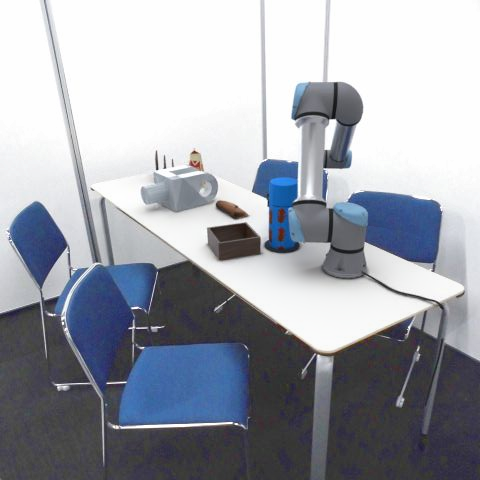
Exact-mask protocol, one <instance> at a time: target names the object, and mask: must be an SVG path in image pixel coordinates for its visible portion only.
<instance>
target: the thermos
mask: <svg viewBox="0 0 480 480" xmlns="http://www.w3.org/2000/svg"><path fill="white" fill-rule="evenodd" d="M297 184H298V180H297V179H296V178H293V177H287V176H285V177H282V176H281V177H275V178H272V179H271V180H270V181H269V186H268V193H269V207H268V240H269V245H270V247H272V248H275V249H280V250H285V249H290V248H293V247H294V246H295V242H294V241H293V240H292V239H291V237H290V229H289V217H288V208H290V207H292V203H293V201H294V200H295V199H297Z"/></svg>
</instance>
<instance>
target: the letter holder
mask: <svg viewBox="0 0 480 480" xmlns="http://www.w3.org/2000/svg"><path fill="white" fill-rule="evenodd" d="M154 157H155V158H154V160H155V161H154V162H155V163H154V164H155V171H157V170H160V168H159V157H158V150H155V155H154ZM172 167H175V164H174V158H172V159H171V168H172ZM163 169H167V160H166V155H165V154H163Z"/></svg>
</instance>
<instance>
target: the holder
mask: <svg viewBox="0 0 480 480" xmlns="http://www.w3.org/2000/svg"><path fill="white" fill-rule="evenodd" d="M206 233H207V235H206V236H207V245H208V246H209V248H210V249H211V250H212V253H214V255H215V257H216V258H217V259H218V261H225V260H232V259H239V258H244V257H245V258H246V257H251V256H256V255H257V256H258V255H261V254H262V252H261V250H262V245H261V244H262V242H261V241H262V237H261V236H260V235H259V234H258V233H257V231H256V230H255V229H253V227H252V226H251V225H250V224H249V222H247V221H245V222H238V223H237V222H236V223H230V224H223V225H216V226H209V227H208V226H207V227H206Z"/></svg>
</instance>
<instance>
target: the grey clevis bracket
mask: <svg viewBox="0 0 480 480" xmlns="http://www.w3.org/2000/svg"><path fill="white" fill-rule="evenodd" d="M153 180H154V183H153V184H149V185H144V186H141V187H140V196H141V200H142V202H143V203H144V204H145V205H146V206H149V205H154V204H157V203H158V204H160V205H161V206H164V207H165V208H168V209H170V210H171V211H173V212H175V213H177V212H181V211H185V210H190V209H193V208H196V207H202V206H205V205H209V204H210V203H212V202H213V201H214V200H215V198H216V196H217V195H218V191H219V183H218V180H217V178H216V177H215V175H213V174H212V173H210V172H208V171H205V170H204V171H199V170H198V169H197V168H195V167H192V166H189V164H182V165H177V166H174V167H172V166H171V167H168V168H167V167H166V169H159V170H157V171H156V170H153ZM203 182H205V184H206V185H205V187H204V188H205V189H204V190H203V191H202V188H203V187H202V186H203ZM201 191H202V192H201ZM200 192H201V193H200Z"/></svg>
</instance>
